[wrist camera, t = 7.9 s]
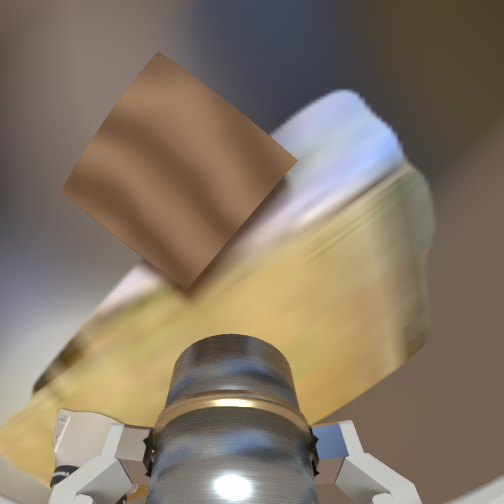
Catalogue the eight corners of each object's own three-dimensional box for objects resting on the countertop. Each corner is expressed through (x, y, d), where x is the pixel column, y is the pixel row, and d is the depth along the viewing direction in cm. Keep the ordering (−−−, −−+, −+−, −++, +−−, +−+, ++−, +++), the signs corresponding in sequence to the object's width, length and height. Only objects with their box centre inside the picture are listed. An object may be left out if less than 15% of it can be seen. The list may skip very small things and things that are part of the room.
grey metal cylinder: (204, 431, 14) (196, 558, 7) (144, 352, 12) (95, 501, 6) (310, 401, 14) (344, 536, 7) (270, 310, 12) (301, 479, 5)
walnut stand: (191, 273, 35) (186, 289, 31) (78, 184, 31) (60, 191, 27) (290, 157, 31) (297, 160, 28) (167, 60, 27) (158, 51, 24)
